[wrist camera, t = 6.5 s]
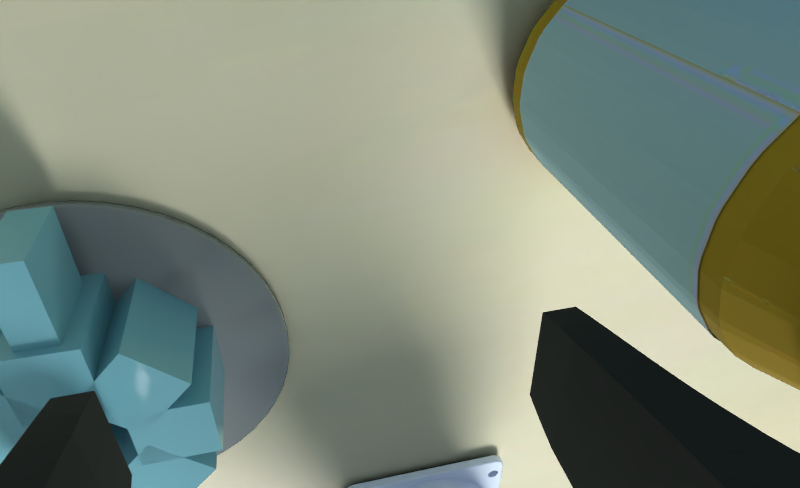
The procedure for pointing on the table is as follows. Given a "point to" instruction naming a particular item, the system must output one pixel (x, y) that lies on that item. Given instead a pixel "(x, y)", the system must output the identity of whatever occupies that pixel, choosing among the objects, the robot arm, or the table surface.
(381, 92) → the table surface
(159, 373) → the blue block ring base
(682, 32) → the bottle
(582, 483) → the robot arm
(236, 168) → the table surface
